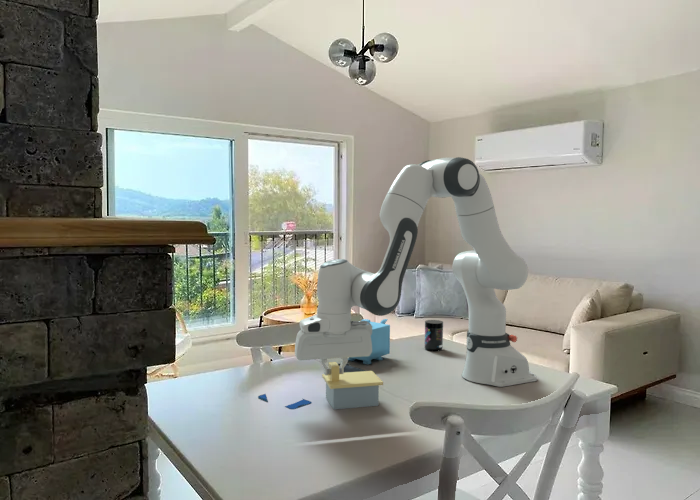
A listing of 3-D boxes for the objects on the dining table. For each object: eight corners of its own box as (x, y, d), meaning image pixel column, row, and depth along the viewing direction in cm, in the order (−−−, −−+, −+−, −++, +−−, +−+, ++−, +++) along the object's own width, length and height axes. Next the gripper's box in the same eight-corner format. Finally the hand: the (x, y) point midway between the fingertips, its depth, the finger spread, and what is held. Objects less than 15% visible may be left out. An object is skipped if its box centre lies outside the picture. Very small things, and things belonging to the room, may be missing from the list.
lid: (371, 377, 148) (372, 356, 148) (383, 388, 139) (383, 366, 138) (322, 380, 145) (322, 359, 144) (330, 392, 135) (330, 370, 135)
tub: (368, 396, 148) (368, 374, 148) (378, 407, 139) (378, 385, 139) (325, 399, 145) (326, 377, 145) (333, 411, 136) (333, 388, 136)
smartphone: (277, 389, 151) (313, 402, 141) (277, 393, 151) (313, 405, 141) (256, 396, 146) (291, 409, 136) (256, 399, 146) (291, 413, 136)
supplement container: (429, 346, 203) (429, 319, 203) (445, 348, 200) (446, 321, 199) (421, 349, 198) (421, 322, 197) (438, 352, 194) (438, 324, 193)
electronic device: (325, 382, 165) (357, 387, 154) (326, 363, 166) (357, 368, 154) (348, 380, 171) (381, 385, 160) (349, 362, 172) (381, 366, 160)
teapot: (361, 368, 174) (361, 326, 173) (335, 362, 181) (335, 321, 180) (399, 354, 191) (400, 316, 190) (374, 349, 198) (374, 312, 197)
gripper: (368, 317, 145) (368, 368, 146) (293, 321, 140) (293, 373, 141) (375, 322, 139) (375, 375, 140) (297, 326, 134) (297, 380, 135)
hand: (333, 374), depth 140 cm, fingers closed on lid
